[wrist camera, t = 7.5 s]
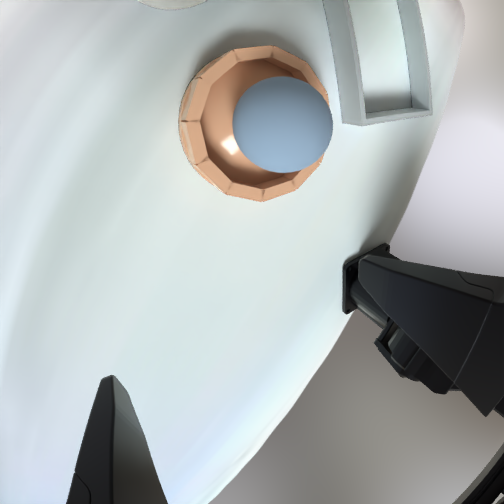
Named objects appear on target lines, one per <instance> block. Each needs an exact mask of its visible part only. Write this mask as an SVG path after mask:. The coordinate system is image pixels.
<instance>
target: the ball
mask: <svg viewBox="0 0 504 504" xmlns="http://www.w3.org/2000/svg"><path fill="white" fill-rule="evenodd" d="M232 128H233V134H234V138H235V140H236V143H237V145H238V147H239V148H240V150H241V152H242V153H243V154H244V155H245V156H246V157H247V158H248V159H249V160H250V161H251V162H252V163H254V164H255V165H257V166H259V167H261V168H263V169H265V170H268V171H272V172H277V173H289V172H295V171H299V170H302V169H305V168H306V167H308V166H310V165H312V164H313V163H315V162H316V161H317V160H318V159H319V158H320V157H321V156H322V155H323V154H324V152H325V151H326V149H327V147H328V145H329V143H330V140H331V136H332V131H333V120H332V114H331V111H330V108H329V106H328V104H327V102H326V100H325V99H324V98H323V96H322V95H321V94H320V93H319V92H318V91H317V90H316V89H315V88H314V87H312V86H311V85H310V84H308V83H306V82H304V81H302V80H299V79H296V78H292V77H285V76H281V77H271V78H267V79H264V80H261V81H259V82H257V83H256V84H254V85H252V86H251V87H250V88H248V89H247V90H246V91H245V92H244V94H243V95H242V96H241V98H240V99H239V101H238V103H237V104H236V107H235V109H234V113H233V120H232Z"/></svg>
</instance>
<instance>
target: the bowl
mask: <svg viewBox="0 0 504 504" xmlns="http://www.w3.org/2000/svg"><path fill="white" fill-rule="evenodd" d="M281 76H285V77H292V78H296V79H299V80H302V81H304V82H306V83H308V84H310V85H311V86H312V87H314V88H315V89H316V90H317V91H318V92H319V93H320V94H321V95H322V96H323V98H324V99H325V100H326V102H327V104H328V106H329V101H328V94H325V93H326V92H327V91H326V90H325V88H324V87H323V85H322V84H321V82H320V81H319V79H318V78H317V76H316V75H315V73H314V72H313V70H312V69H311V67H310V66H309V64H308V63H306V61H304V60H302V59H300V58H298V57H296V56H294V55H292V54H290V53H288V52H286V51H284V50H282V49H280V48H278V47H276V46H272V45H270V46H258V47H248V48H240V49H233V50H231V51H229V52H227V53H224V54H223V55H222V56H220V57H218V58H216V59H214V60H212V61H211V62H210V63H208V64H207V65H205V66H204V67H203V68H202V69H201V70H200V71H199V72H198V73H197V74H196V75H195V77H194V78H193V79H192V81H191V82H190V84H189V86H188V87H187V89H186V91H185V93H184V96H183V99H182V102H181V106H180V110H179V119H178V124H179V135H180V141H181V144H182V147H183V150H184V152H185V155H186V157H187V159H188V160H189V162H190V163H191V165H192V166H193V168H194V169H195V170H196V171H197V172H198V173H199V175H200V176H202V177H203V178H204V179H205V180H206V181H208V182H209V183H211V184H212V185H214V186H215V187H216V188H217V189H218V190H220V191H221V192H223V193H224V194H226V195H231V196H235V197H240V198H245V199H250V200H255V201H259V202H262V201H263V202H264V201H267V200H270V199H273V198H275V197H278V196H281V195H284V194H287V193H290V192H293V191H295V189H298V188H299V187H300V186H301V185H302V184H303V182H304V181H305V180H306V179H307V178H308V177H309V176H310V175H311V174H312V173H313V172H314V171H315V170H316V168H317V167H318V166H319V165H320V163H321V162H322V159H323V156H324V154H323V155H322V156H321V157H320V158H319V159H318V160H317V161H316V162H315V163H313V164H312V165H310V166H308V167H306V168H305V169H302V170H299V171H295V172H289V173H277V172H272V171H268V170H265V169H263V168H261V167H259V166H257V165H255V164H254V163H252V162H251V161H250V160H249V159H248V158H247V157H246V156H245V155H244V154H243V153H242V152H241V150H240V148H239V147H238V145H237V143H236V140H235V138H234V134H233V128H232V120H233V113H234V109H235V107H236V104H237V103H238V101H239V99H240V98H241V96H242V95H243V94H244V92H245V91H246V90H247V89H248V88H250V87H251V86H252V85H254V84H256V83H257V82H259V81H261V80H264V79H267V78H271V77H281ZM319 162H320V163H319Z"/></svg>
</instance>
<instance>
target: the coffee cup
mask: <svg viewBox="0 0 504 504" xmlns="http://www.w3.org/2000/svg"><path fill="white" fill-rule="evenodd" d="M138 1H139V2H141V3H143V4H145V5H148V6H150V7H154V8H158V9H165V10H177V9H185V8H190V7H193V6H196V5H199V4H201V3H203V2H205V1H207V0H138Z"/></svg>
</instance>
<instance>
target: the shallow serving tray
mask: <svg viewBox="0 0 504 504" xmlns="http://www.w3.org/2000/svg"><path fill="white" fill-rule="evenodd" d="M397 3H398V7H399V12H400V17H401V22H402V27H403V33H404V39H405V45H406V52H407V59H408V67H409V76H410V86H411V98H412V108H405V109H396V110H388V111H380V112H373V113H366V112H365V102H364V93H363V85H362V77H361V69H360V63H359V56H358V50H357V44H356V38H355V32H354V27H353V22H352V17H351V12H350V8H349V3H348V0H323V4H324V9H325V13H326V18H327V23H328V28H329V33H330V39H331V44H332V50H333V56H334V62H335V68H336V75H337V82H338V89H339V97H340V105H341V113H342V122H343V123H344V124H351V125H357V126H366V125H372V124H377V123H383V122H389V121H395V120H402V119H408V118H415V117H423V116H430V115H432V96H431V83H430V72H429V63H428V55H427V48H426V41H425V35H424V29H423V24H422V18H421V13H420V9H419V4H418V0H397Z"/></svg>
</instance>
